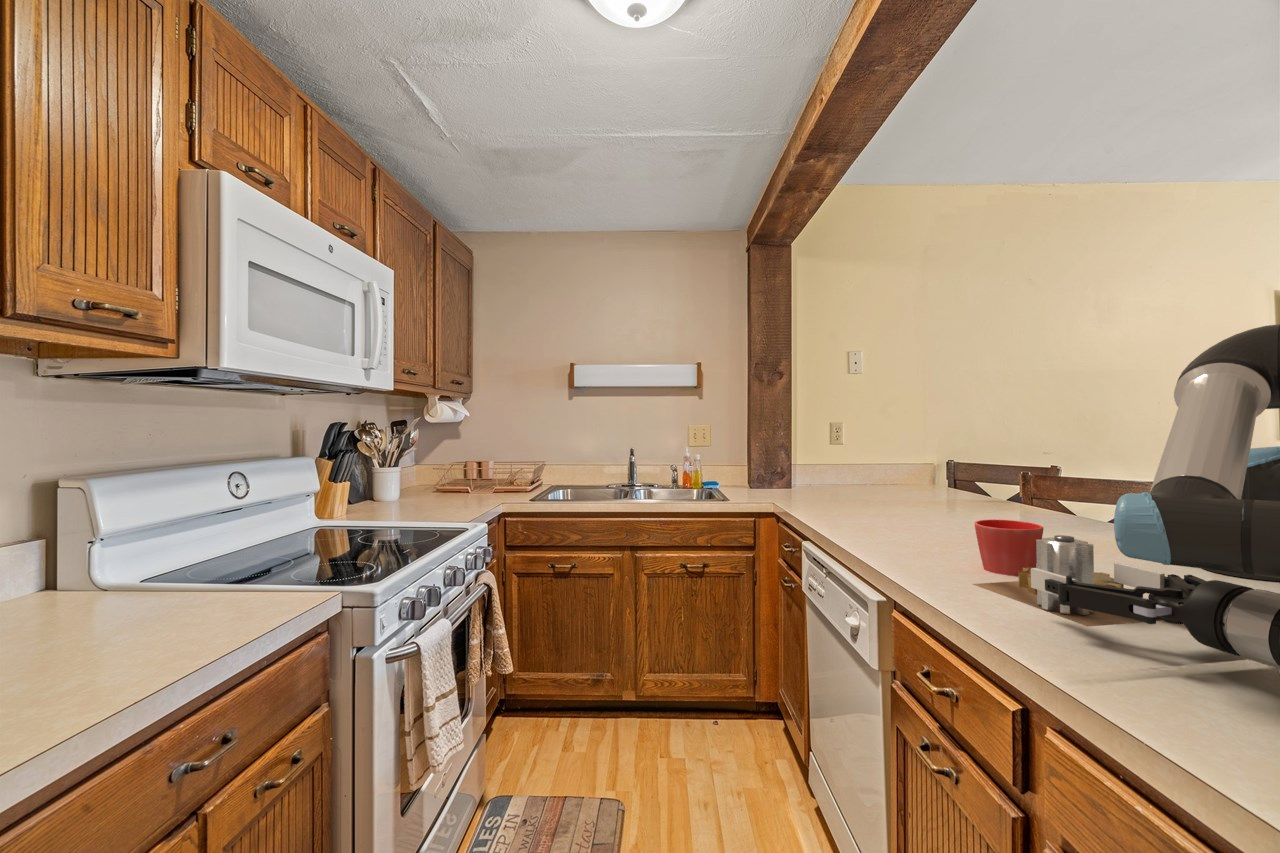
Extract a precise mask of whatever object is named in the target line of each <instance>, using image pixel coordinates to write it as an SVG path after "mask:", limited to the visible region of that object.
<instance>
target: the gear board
mask: <svg viewBox="0 0 1280 853" xmlns="http://www.w3.org/2000/svg"><path fill="white" fill-rule="evenodd" d="M972 585H973V586H976V587H979V588H982V589H984V590H987V591H989V592H992V593H996V594H997V595H1001V596H1003V597H1006V598H1008V599H1011V600H1014V601H1017V602H1019V603H1022V604H1025V605H1027V606H1031V607H1034V608H1036V609H1039V610H1040V611H1041V610H1042V611H1044V612H1047V613H1050V614H1052V615H1055V616H1058V617H1059V618H1063V619H1066V620H1069V621H1071V622H1074V623H1076V624H1080V625H1083V626H1084V627H1095V626H1096V627H1097V626H1098V627H1099V626H1108V625H1110V626H1111V625H1124V624H1135V623H1136V624H1137V623H1143V622H1142V621H1138V620H1135V619H1131V618H1127V617H1122V616H1117V615H1112V614H1107V613H1102V612H1097V611H1094V612H1089V614H1088V615H1081V614H1065V613H1059V612H1055V611H1051V610H1046V609H1044V608H1042V605H1037V595H1035V594H1032V593H1029V592H1028V588H1021V587H1019V580H1017V581H1016V580H1015V581H1014V580H1013V581H999V582H998V581H997V582H983V583H972ZM1161 621H1162V622H1163V621H1164V620H1160V619H1156V622H1161ZM1164 622H1165V621H1164Z"/></svg>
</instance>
